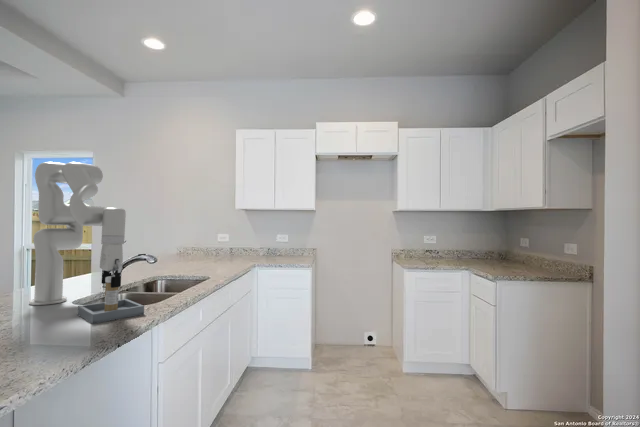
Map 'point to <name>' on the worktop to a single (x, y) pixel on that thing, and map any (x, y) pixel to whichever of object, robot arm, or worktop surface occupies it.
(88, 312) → the tray
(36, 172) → the robot arm
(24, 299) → the worktop surface
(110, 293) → the sprinkles bottle
